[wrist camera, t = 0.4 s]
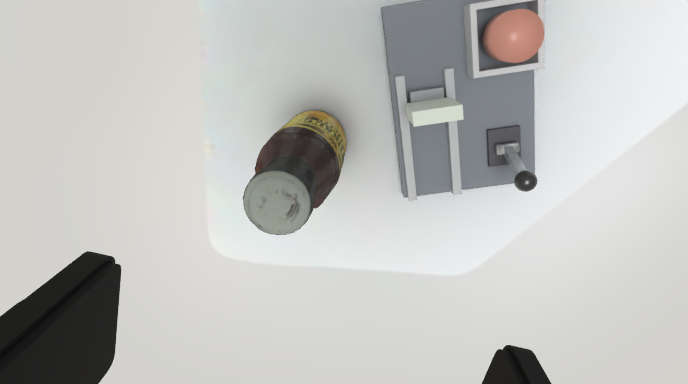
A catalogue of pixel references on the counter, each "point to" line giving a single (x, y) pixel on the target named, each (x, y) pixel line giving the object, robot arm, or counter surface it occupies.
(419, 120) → the pale green block
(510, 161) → the toggle
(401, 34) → the panel
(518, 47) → the button
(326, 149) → the sauce bottle
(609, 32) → the counter surface
